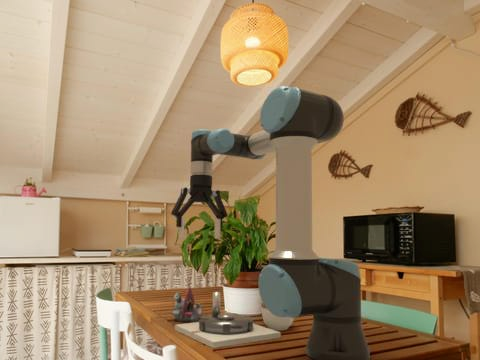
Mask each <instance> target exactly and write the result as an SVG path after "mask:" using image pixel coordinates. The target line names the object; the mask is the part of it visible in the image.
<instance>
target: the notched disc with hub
mask: <svg viewBox="0 0 480 360" xmlns="http://www.w3.org/2000/svg"><path fill="white" fill-rule="evenodd" d="M211 305H212V306H211V307H212V309H211V314H208V315H202V316H201V317H200V318H199V320H198V322H199V330H201V331H206V332H210V333H220V334H234V333H243V332H247V331H251V330H253V324H254V319H253V318H252V316H249V315H243V314H236V313H235V314H234V313H230V312H229V313H228V312H227V313H226V312H221V292H220V291H212V304H211Z"/></svg>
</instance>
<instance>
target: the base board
mask: <svg viewBox="0 0 480 360" xmlns="http://www.w3.org/2000/svg"><path fill="white" fill-rule="evenodd" d="M174 330H175V331H176V332H178V333H181V334H183V335H185V336H187V337H189V338H191V339H193V340H194V341H195V340H196V341H197V342H199V343H202V344H203V345H206V346H207V347H210V348H212V349H217V348H223V347H231V346H236V345H242V344H249V343H250V344H251V343H256V342H261V341H262V342H263V341H268V340H270V341H271V340H275V339H281V336H282V335H281V332H280V331H277V330H272V329H269V328H268V327H265V326H262V325H259V324H255V323H253V330H251V331H247V332H243V333H234V334H220V333H210V332H206V331H201V330H199V321H197V322H187V323H186V322H185V323H178V324H174Z"/></svg>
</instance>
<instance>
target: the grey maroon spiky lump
mask: <svg viewBox="0 0 480 360" xmlns="http://www.w3.org/2000/svg"><path fill="white" fill-rule="evenodd" d="M173 299H174V300H175V301H174V307H173V308H174V310H173V311H170V314H171V315H172V316H173V317H174V318H175V319H176V320H177V321H178V322H180V323H186V322H187V323H194V322H199V318H200V317H201V316H204V315H203V309H202V305H201V303H200V302H197V304H196V305H195V303H196V302H195V297H194V294H193V292H192V288H191V286H188V287H187V291H186V294H185V297H183V298H182V296H181V292H180V291H178V292H175V294H174V295H173Z"/></svg>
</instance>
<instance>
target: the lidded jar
mask: <svg viewBox="0 0 480 360" xmlns="http://www.w3.org/2000/svg"><path fill="white" fill-rule="evenodd" d="M260 305H261V306H260V307H261V317H262V319H263V323H264V324H265V325H266V327H267V328H269V329H272V330H275V331H278V332H280V331H288V329H289V328H290V327H291V325H292V324H293V323H294V319H295V318H291V317H277V316H275V315H273V314H272V313H271V312H269V311H268V309H267V308H266V306H265V304H264V303H263V301H262V302H261V303H260Z"/></svg>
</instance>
